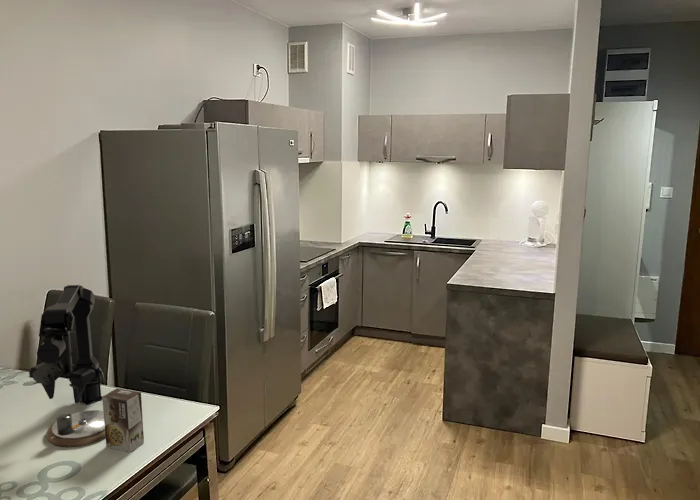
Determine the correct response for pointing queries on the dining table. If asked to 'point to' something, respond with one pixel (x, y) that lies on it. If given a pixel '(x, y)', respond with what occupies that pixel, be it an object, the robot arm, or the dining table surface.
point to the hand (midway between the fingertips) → (64, 400)
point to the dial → (79, 425)
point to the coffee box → (123, 419)
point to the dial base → (75, 442)
